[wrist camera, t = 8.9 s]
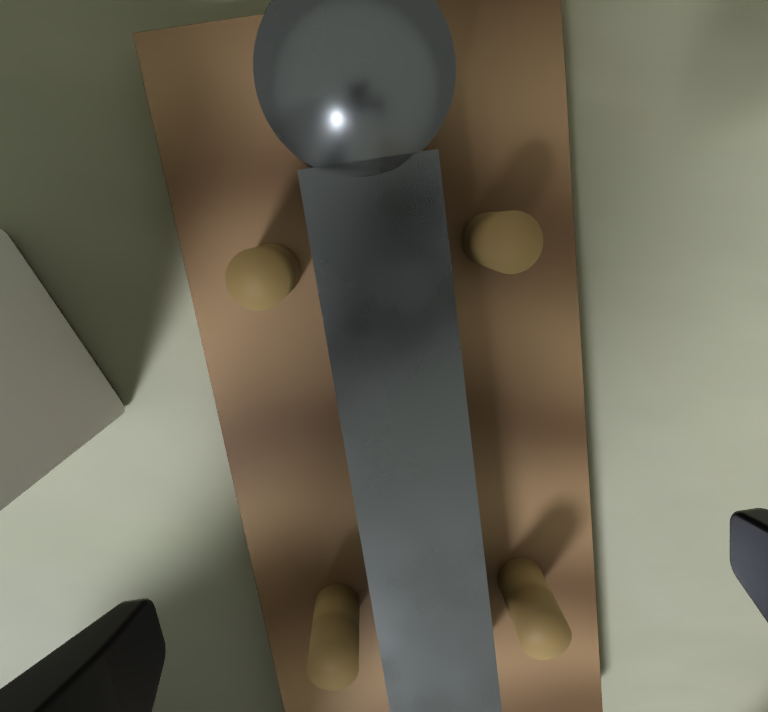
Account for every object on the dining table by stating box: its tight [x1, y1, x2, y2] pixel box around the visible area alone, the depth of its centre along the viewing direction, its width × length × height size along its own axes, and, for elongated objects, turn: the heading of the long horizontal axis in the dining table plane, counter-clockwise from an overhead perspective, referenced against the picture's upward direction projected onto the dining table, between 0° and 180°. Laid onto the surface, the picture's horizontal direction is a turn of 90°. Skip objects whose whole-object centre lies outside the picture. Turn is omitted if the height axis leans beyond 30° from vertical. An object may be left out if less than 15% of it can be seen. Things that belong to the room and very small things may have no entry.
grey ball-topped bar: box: [253, 0, 502, 712], centre depth 17 cm, size 21×5×3 cm, turn 8°
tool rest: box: [133, 0, 603, 712], centre depth 18 cm, size 26×12×4 cm, turn 8°
